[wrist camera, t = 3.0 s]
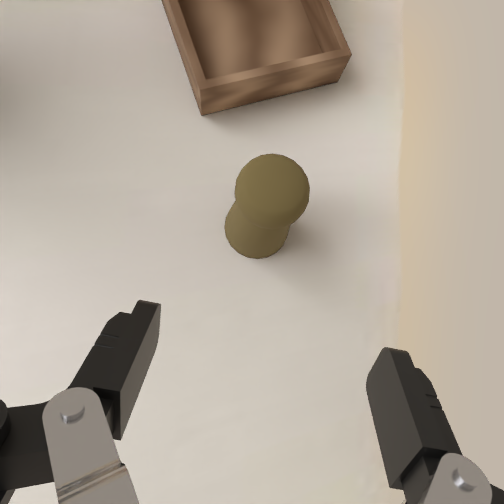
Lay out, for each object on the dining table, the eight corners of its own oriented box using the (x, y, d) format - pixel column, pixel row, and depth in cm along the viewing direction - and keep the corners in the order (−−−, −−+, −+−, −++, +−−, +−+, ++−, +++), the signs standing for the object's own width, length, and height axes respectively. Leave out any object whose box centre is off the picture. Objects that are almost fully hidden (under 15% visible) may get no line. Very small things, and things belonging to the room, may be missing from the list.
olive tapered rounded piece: (294, 207, 35) (330, 155, 24) (278, 266, 34) (309, 238, 23) (234, 189, 35) (244, 127, 24) (216, 247, 33) (217, 210, 23)
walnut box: (201, 115, 36) (200, 89, 32) (158, -9, 38) (152, -47, 34) (337, 81, 38) (351, 54, 34) (289, -33, 41) (297, -71, 37)
